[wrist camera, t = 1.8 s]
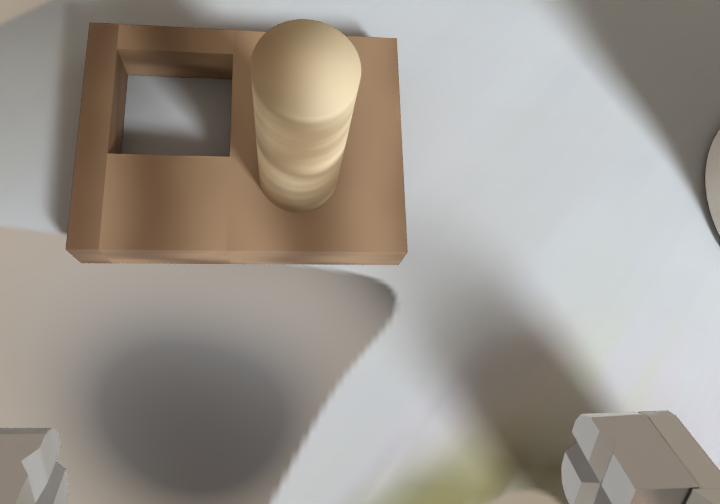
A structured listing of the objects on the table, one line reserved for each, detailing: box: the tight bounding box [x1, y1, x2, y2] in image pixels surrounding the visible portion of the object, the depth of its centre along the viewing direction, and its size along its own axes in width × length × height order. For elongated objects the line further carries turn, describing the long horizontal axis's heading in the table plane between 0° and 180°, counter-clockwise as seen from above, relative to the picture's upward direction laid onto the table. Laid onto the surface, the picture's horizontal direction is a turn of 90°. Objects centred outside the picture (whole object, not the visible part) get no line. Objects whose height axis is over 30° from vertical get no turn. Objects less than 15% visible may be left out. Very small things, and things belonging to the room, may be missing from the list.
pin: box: [250, 19, 361, 213], centre depth 27 cm, size 4×4×10 cm
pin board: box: [66, 23, 407, 265], centre depth 34 cm, size 16×12×2 cm
